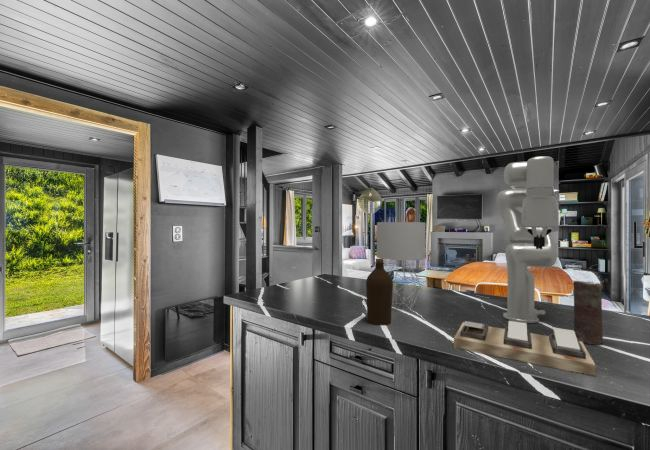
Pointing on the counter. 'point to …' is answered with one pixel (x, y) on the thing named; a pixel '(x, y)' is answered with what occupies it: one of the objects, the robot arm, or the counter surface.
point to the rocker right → (566, 339)
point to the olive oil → (379, 295)
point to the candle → (588, 312)
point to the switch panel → (524, 348)
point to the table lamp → (401, 247)
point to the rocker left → (475, 325)
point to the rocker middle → (517, 331)
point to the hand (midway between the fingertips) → (539, 248)
